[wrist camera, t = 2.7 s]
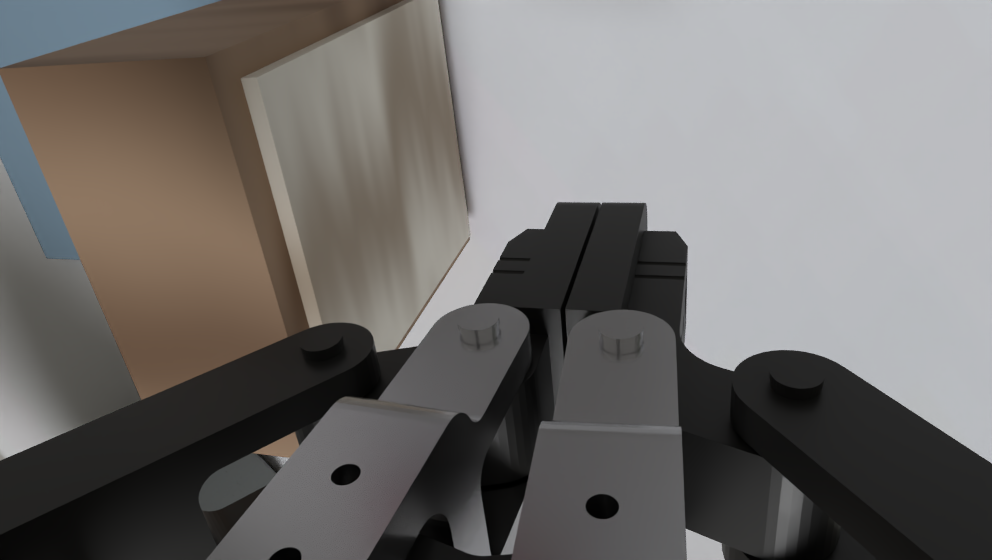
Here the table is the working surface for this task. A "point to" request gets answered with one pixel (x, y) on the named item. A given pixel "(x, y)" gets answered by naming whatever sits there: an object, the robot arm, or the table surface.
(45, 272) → the table surface
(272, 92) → the wooden block
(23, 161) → the rubber mat
